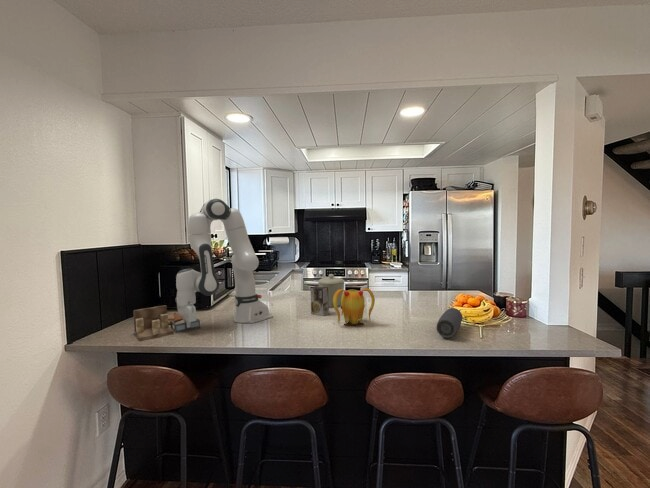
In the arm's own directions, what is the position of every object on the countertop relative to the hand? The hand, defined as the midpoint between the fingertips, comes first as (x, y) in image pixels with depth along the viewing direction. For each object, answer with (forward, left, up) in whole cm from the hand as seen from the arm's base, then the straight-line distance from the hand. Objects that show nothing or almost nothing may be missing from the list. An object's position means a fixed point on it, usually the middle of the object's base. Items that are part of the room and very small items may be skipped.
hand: (187, 326), depth 162 cm
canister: (-87, +14, -2) cm, 88 cm away
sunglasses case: (+4, -21, -2) cm, 21 cm away
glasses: (0, -4, -2) cm, 5 cm away
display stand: (+15, -6, -2) cm, 16 cm away
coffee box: (-69, +24, -2) cm, 73 cm away
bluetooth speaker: (-94, +93, -2) cm, 132 cm away
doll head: (-70, +51, -2) cm, 87 cm away
